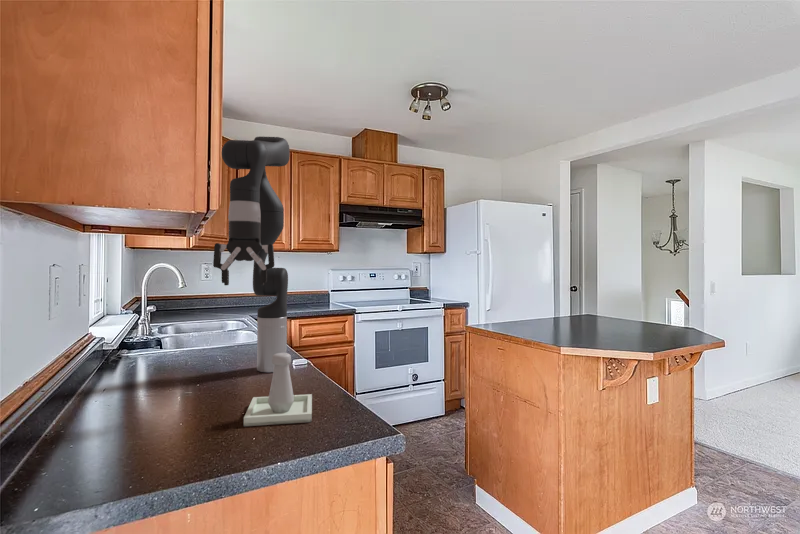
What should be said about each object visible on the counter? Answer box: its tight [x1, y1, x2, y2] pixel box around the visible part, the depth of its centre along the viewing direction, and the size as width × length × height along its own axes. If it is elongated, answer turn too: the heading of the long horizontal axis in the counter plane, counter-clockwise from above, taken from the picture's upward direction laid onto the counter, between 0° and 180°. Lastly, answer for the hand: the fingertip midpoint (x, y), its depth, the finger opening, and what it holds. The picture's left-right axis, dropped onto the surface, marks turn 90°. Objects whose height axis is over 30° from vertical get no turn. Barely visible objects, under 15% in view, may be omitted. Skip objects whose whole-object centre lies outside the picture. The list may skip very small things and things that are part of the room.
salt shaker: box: [268, 352, 295, 413], centre depth 95 cm, size 6×6×13 cm
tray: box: [243, 393, 313, 427], centre depth 95 cm, size 14×14×2 cm
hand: (244, 285), depth 104 cm, fingers open, 8 cm apart
